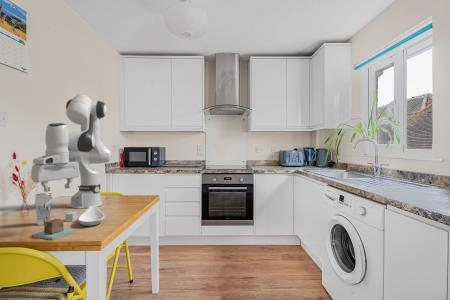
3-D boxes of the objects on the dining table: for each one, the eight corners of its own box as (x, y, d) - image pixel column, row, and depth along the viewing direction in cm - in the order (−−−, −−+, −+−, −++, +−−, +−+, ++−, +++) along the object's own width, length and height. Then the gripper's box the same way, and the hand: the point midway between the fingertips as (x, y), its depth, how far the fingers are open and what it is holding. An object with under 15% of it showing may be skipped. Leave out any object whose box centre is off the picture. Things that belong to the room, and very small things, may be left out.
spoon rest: (104, 226, 123) (104, 211, 123) (76, 229, 118) (76, 214, 118) (104, 215, 145) (104, 202, 145) (81, 217, 140) (81, 204, 140)
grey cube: (65, 221, 131) (65, 213, 131) (70, 219, 135) (70, 212, 135) (72, 221, 131) (72, 214, 131) (77, 219, 135) (77, 212, 135)
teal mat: (32, 236, 108) (32, 234, 108) (55, 229, 118) (55, 227, 118) (52, 239, 104) (52, 237, 104) (74, 232, 114) (74, 230, 114)
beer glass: (33, 226, 123) (33, 195, 123) (36, 222, 129) (36, 193, 129) (50, 224, 126) (50, 194, 126) (52, 221, 132) (52, 192, 132)
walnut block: (44, 233, 110) (44, 221, 110) (55, 229, 114) (55, 218, 114) (52, 234, 108) (52, 222, 108) (63, 231, 113) (63, 219, 113)
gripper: (73, 157, 124) (73, 185, 124) (28, 159, 105) (28, 193, 105) (82, 158, 122) (83, 186, 122) (39, 160, 103) (39, 194, 103)
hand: (57, 189), depth 113 cm, fingers open, 8 cm apart
